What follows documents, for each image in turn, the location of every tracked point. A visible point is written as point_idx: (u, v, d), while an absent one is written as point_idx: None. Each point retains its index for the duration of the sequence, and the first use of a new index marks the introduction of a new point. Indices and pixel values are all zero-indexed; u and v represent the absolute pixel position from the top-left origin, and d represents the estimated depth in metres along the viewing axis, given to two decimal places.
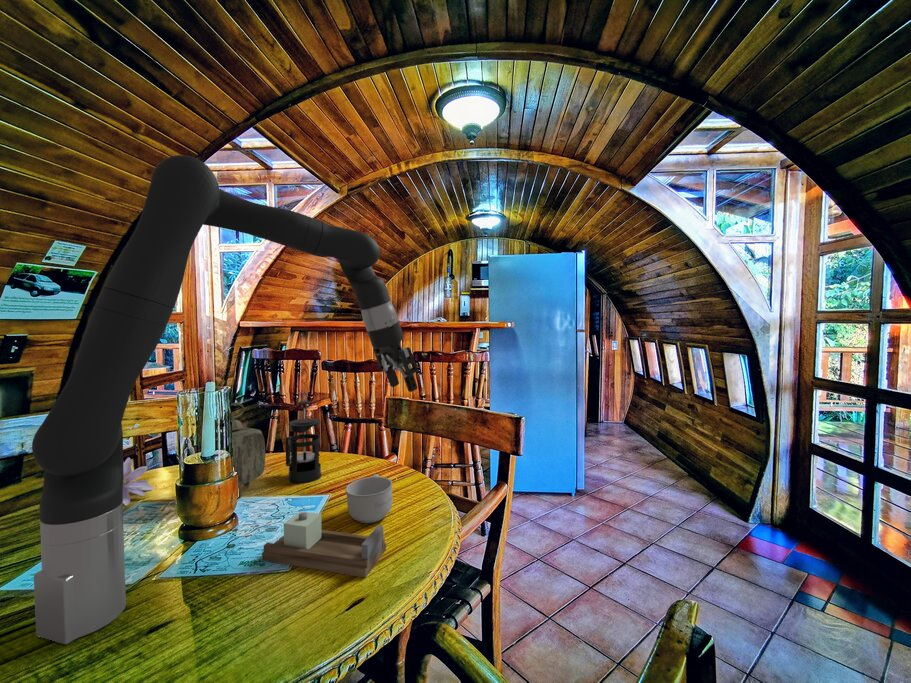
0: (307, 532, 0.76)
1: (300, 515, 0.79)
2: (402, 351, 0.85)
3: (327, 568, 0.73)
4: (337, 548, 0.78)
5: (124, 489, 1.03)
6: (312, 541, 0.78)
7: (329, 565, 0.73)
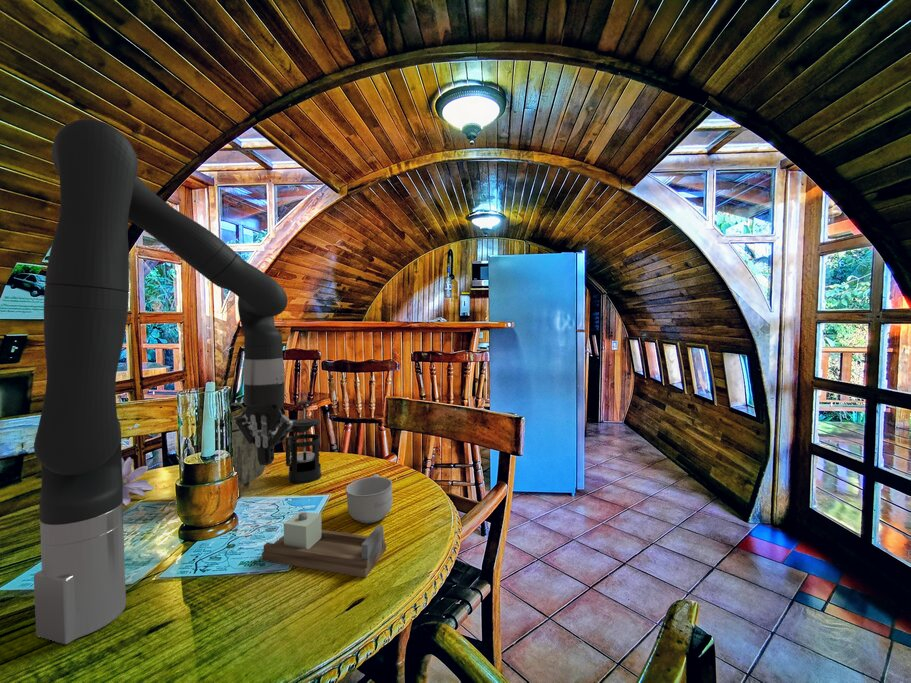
0: (307, 532, 0.76)
1: (300, 515, 0.79)
2: (289, 425, 0.78)
3: (327, 568, 0.73)
4: (337, 548, 0.78)
5: (124, 489, 1.03)
6: (312, 541, 0.78)
7: (329, 565, 0.73)
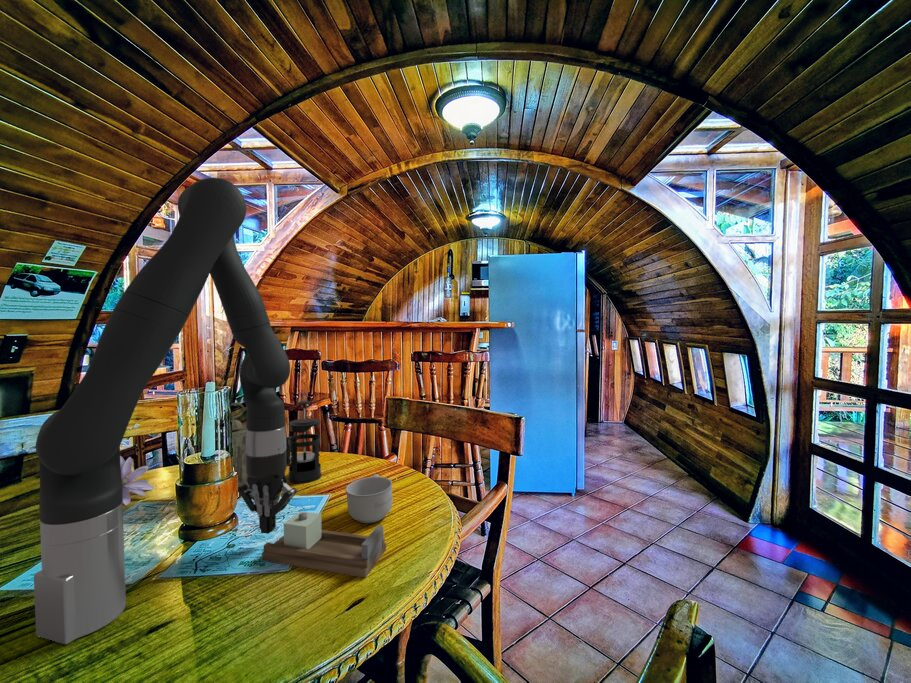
0: (307, 532, 0.76)
1: (300, 515, 0.79)
2: (290, 494, 0.79)
3: (327, 568, 0.73)
4: (337, 548, 0.78)
5: (125, 489, 1.03)
6: (312, 541, 0.78)
7: (329, 565, 0.73)
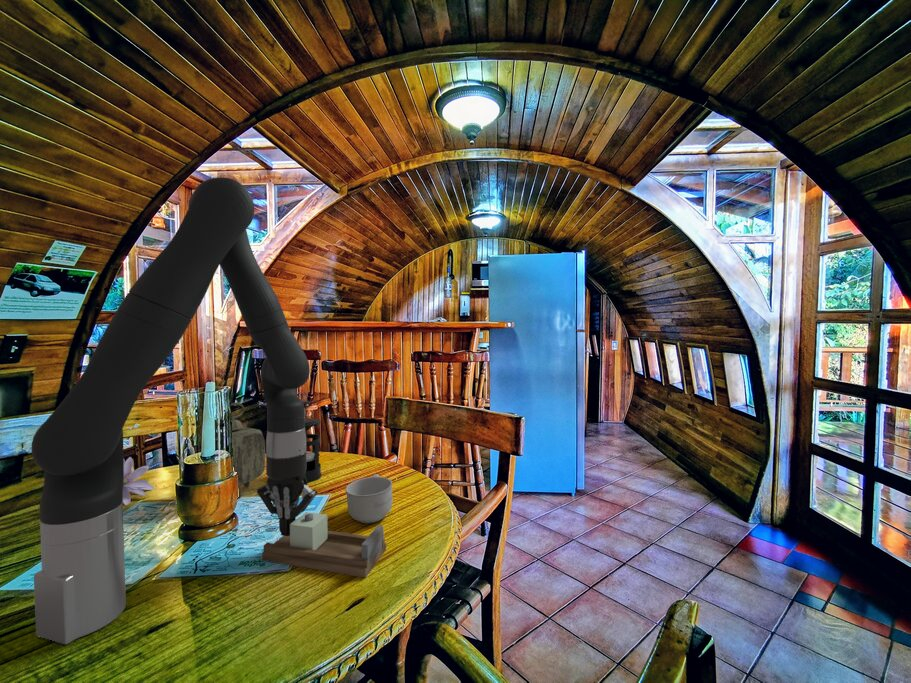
0: (313, 533, 0.76)
1: (306, 516, 0.78)
2: (311, 496, 0.78)
3: (327, 568, 0.73)
4: (337, 548, 0.78)
5: (125, 488, 1.03)
6: (318, 542, 0.78)
7: (329, 565, 0.73)
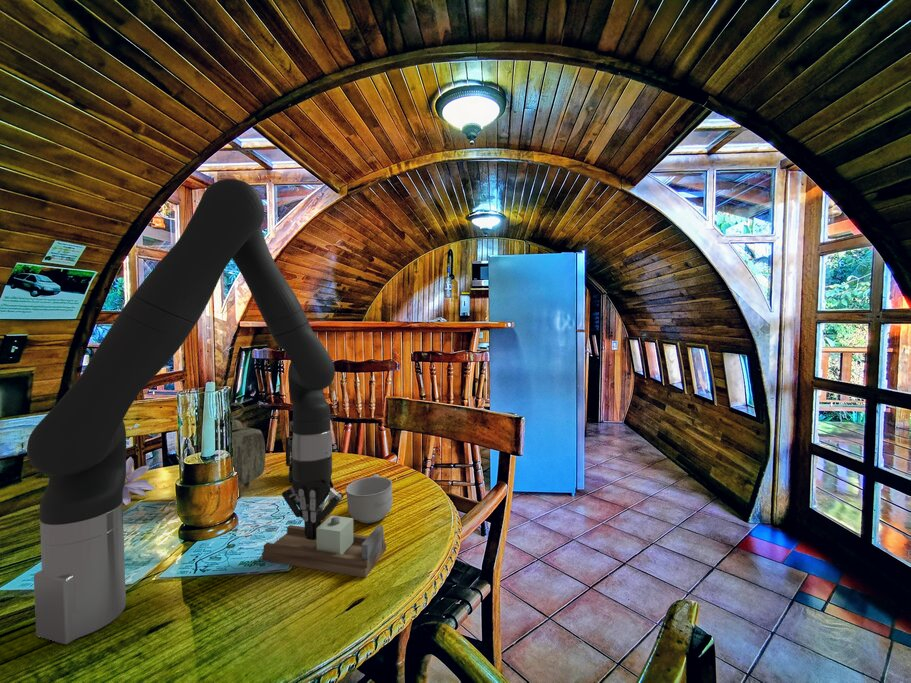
0: (341, 537, 0.75)
1: (332, 519, 0.77)
2: (338, 500, 0.76)
3: (327, 568, 0.73)
4: None
5: (125, 488, 1.03)
6: (345, 546, 0.76)
7: (329, 565, 0.73)
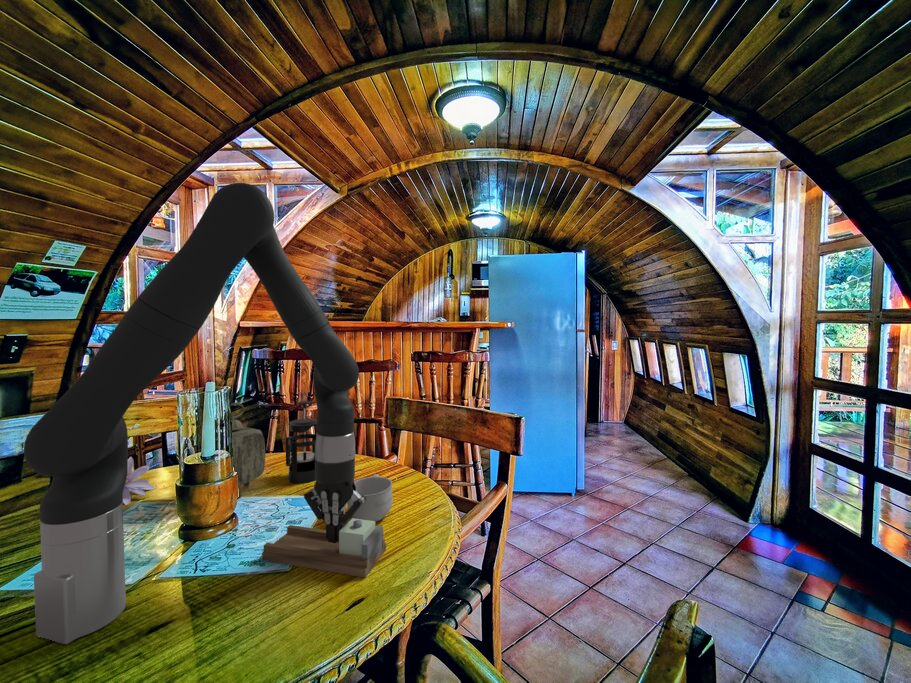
0: None
1: (355, 522, 0.76)
2: (361, 503, 0.75)
3: (327, 568, 0.73)
4: (337, 548, 0.78)
5: (125, 488, 1.03)
6: None
7: (329, 565, 0.73)
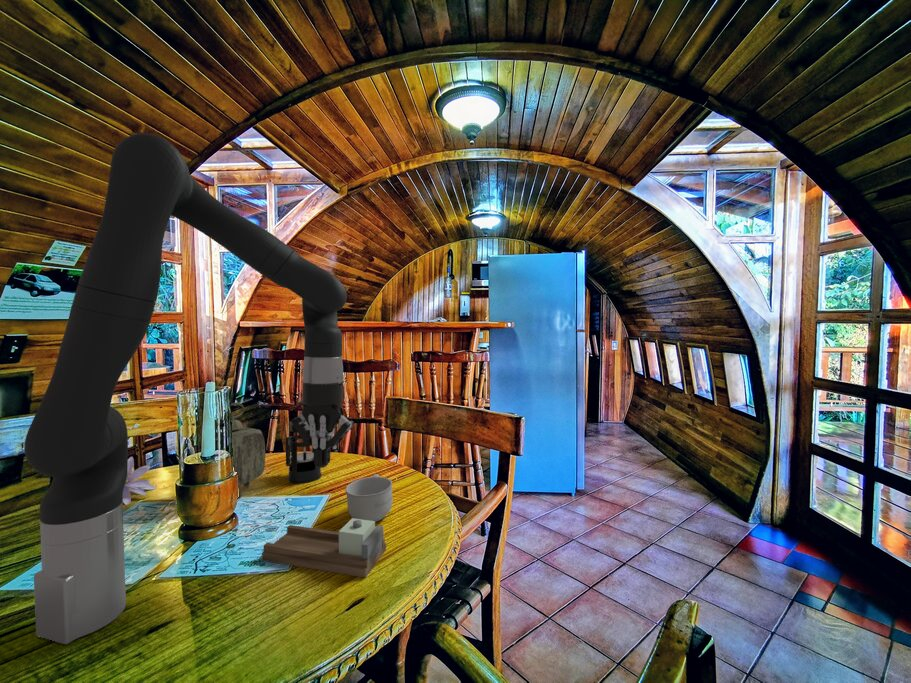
0: None
1: (355, 522, 0.76)
2: (348, 426, 0.75)
3: (327, 568, 0.73)
4: (337, 548, 0.78)
5: (126, 488, 1.03)
6: None
7: (329, 565, 0.73)
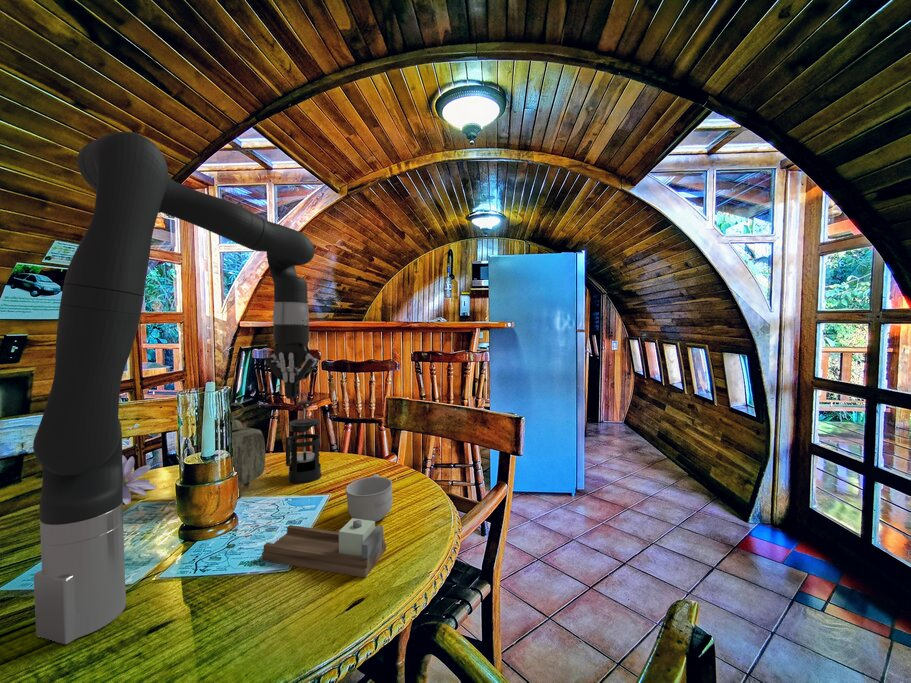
0: None
1: (355, 522, 0.76)
2: (313, 361, 0.87)
3: (327, 568, 0.73)
4: (337, 548, 0.78)
5: (126, 488, 1.03)
6: None
7: (329, 565, 0.73)
